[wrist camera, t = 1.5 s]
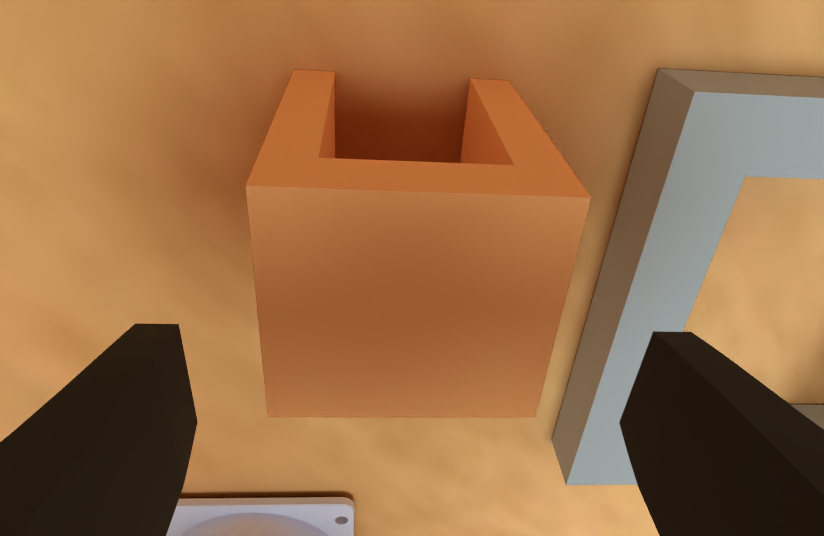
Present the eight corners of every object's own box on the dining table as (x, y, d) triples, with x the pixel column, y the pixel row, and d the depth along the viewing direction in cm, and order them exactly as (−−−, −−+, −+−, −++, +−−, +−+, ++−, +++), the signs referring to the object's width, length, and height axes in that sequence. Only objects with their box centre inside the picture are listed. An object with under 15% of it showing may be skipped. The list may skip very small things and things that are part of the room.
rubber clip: (483, 248, 18) (535, 417, 12) (301, 243, 17) (267, 417, 12) (508, 80, 15) (591, 198, 9) (293, 69, 14) (245, 186, 9)
